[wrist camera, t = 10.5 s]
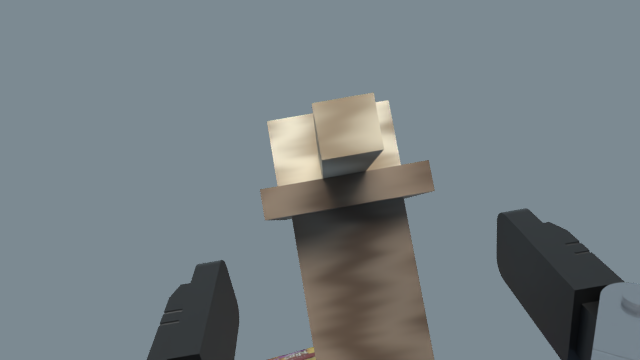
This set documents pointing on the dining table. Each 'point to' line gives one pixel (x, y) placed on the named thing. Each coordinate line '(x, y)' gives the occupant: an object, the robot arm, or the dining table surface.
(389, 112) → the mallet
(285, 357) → the candy box
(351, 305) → the stand
